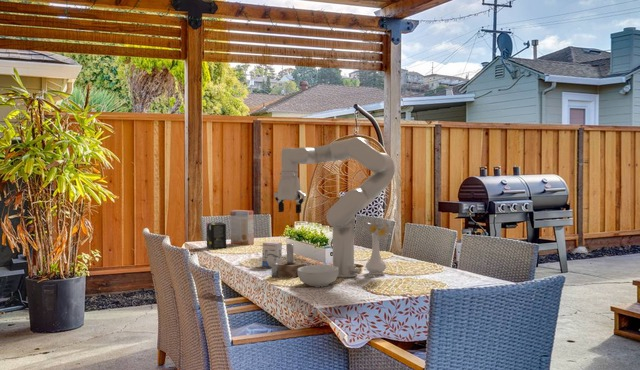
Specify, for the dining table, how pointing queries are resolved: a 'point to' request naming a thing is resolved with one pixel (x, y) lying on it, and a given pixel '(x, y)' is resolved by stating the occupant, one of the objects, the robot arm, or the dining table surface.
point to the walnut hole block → (289, 269)
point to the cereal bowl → (318, 274)
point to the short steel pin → (274, 269)
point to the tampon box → (216, 235)
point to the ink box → (271, 253)
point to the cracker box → (242, 227)
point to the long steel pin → (290, 254)
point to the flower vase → (376, 244)
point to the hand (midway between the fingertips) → (289, 212)
